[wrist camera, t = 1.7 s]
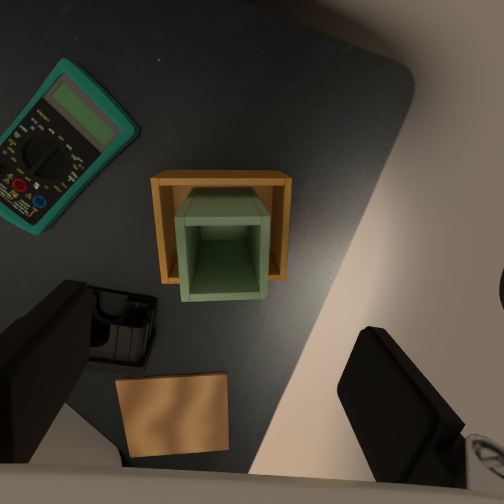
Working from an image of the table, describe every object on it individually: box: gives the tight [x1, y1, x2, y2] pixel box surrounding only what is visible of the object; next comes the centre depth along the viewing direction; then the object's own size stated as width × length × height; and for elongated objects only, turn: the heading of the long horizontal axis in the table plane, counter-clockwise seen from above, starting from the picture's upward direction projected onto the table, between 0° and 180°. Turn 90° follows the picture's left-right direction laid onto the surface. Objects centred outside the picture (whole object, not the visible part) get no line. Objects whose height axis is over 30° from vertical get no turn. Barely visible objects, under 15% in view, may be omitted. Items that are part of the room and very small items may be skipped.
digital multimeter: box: [0, 59, 139, 235], centre depth 26 cm, size 7×15×3 cm, turn 132°
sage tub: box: [174, 187, 271, 302], centre depth 25 cm, size 6×6×12 cm
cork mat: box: [115, 372, 229, 458], centre depth 40 cm, size 14×14×1 cm
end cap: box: [84, 286, 156, 378], centre depth 31 cm, size 10×7×7 cm
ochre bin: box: [151, 170, 292, 284], centre depth 28 cm, size 11×9×7 cm
